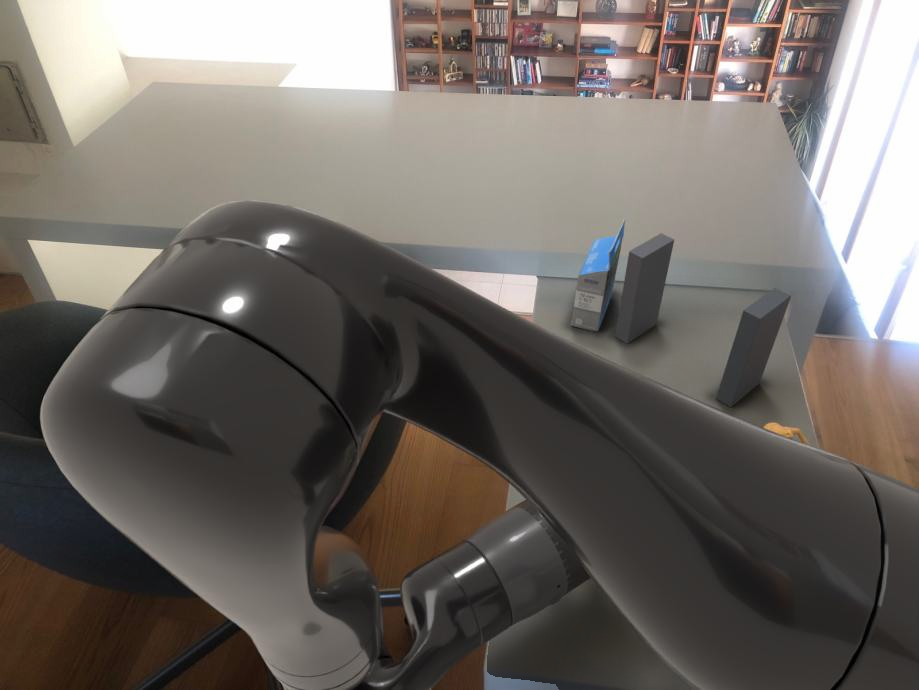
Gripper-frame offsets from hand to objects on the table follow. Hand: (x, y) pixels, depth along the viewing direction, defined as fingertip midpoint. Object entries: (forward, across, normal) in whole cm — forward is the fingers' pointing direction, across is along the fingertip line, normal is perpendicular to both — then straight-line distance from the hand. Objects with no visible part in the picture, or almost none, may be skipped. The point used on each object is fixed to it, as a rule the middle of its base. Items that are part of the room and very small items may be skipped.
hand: (682, 461), depth 60 cm
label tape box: (+18, +30, +11) cm, 37 cm away
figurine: (+9, -4, +11) cm, 15 cm away
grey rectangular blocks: (+21, +16, +11) cm, 28 cm away
